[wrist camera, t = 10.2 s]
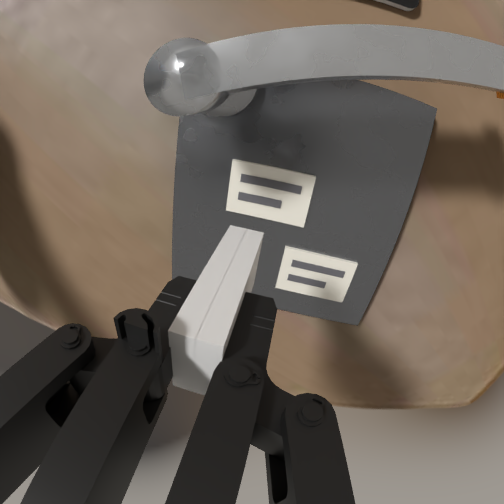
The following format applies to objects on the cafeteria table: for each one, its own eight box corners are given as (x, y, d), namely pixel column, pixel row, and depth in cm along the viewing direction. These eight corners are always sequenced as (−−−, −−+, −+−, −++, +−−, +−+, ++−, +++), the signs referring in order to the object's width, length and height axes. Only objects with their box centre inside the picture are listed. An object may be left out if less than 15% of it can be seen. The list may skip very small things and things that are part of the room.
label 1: (226, 209, 22) (225, 210, 22) (233, 158, 20) (232, 160, 20) (303, 225, 22) (303, 228, 22) (316, 176, 20) (316, 177, 19)
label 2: (275, 285, 25) (275, 288, 25) (285, 245, 23) (285, 247, 23) (342, 300, 25) (342, 303, 24) (357, 262, 22) (358, 265, 22)
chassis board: (177, 275, 28) (152, 310, 23) (194, 50, 18) (160, 39, 13) (356, 317, 27) (361, 360, 22) (432, 102, 16) (466, 105, 11)
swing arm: (176, 119, 15) (148, 125, 12) (163, 58, 13) (134, 52, 11) (518, 108, 10) (548, 115, 7) (510, 49, 8) (540, 47, 5)
